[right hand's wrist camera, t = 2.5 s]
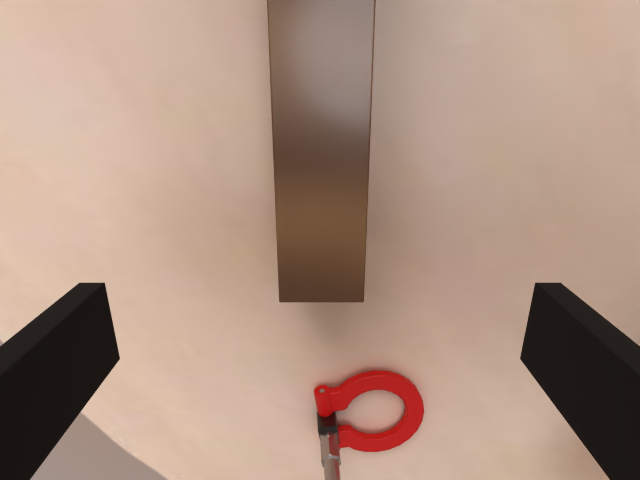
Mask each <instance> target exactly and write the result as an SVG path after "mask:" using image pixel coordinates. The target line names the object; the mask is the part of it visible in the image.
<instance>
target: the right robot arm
mask: <svg viewBox="0 0 640 480" xmlns="http://www.w3.org/2000/svg"><path fill="white" fill-rule="evenodd" d="M119 359H120V357H119V352H118V347H117V342H116V337H115V332H114V327H113V322H112V317H111V312H110V307H109V302H108V297H107V292H106V287H105V283H79V284H77V285H76V286H75V287H74V288H72V289H71V290H70V291H69V292H67V293H66V294H65V295H64V296H63V297H61V298H60V299H59V300H58V301H56V302H55V303H54V304H53V305H51V306H50V307H49V308H48V309H46V310H45V311H44V312H43V313H41V314H40V315H39V316H38V317H36V318H35V319H34V320H33V321H31V322H30V323H29V324H28V325H26V326H25V327H24V328H23V329H21V330H20V331H19V332H18V333H16V334H15V335H14V336H13V337H11V338H10V339H9V340H8V341H6V342H5V343H4V344H3V345H1V346H0V480H30V479H31V477H32V476H33V475H34V473H35V472H36V471H37V469H38V468H39V467H40V465H41V464H42V463H43V461H44V460H45V459H46V457H47V456H48V455H49V453H50V452H51V451H52V449H53V448H54V447H55V445H56V444H57V443H58V441H59V440H60V438H61V437H62V436H63V434H64V433H65V432H66V430H67V429H68V428H69V426H70V425H71V424H72V422H73V421H74V420H75V418H76V417H77V416H78V414H79V413H80V412H81V410H82V409H83V408H84V406H85V405H86V404H87V402H88V401H89V400H90V398H91V397H92V396H93V394H94V393H95V391H96V390H97V389H98V387H99V386H100V385H101V383H102V382H103V381H104V379H105V378H106V377H107V375H108V374H109V373H110V371H111V370H112V369H113V367H114V366H115V365H116V363H117V362H118V361H119ZM520 359H521V361H522V362H523V363H524V365H525V366H526V367H527V369H528V370H529V371H530V373H531V374H532V375H533V377H534V378H535V379H536V381H537V382H538V383H539V385H540V386H541V387H542V389H543V390H544V391H545V393H546V394H547V396H548V397H549V398H550V400H551V401H552V402H553V404H554V405H555V406H556V408H557V409H558V410H559V412H560V413H561V414H562V416H563V417H564V418H565V420H566V421H567V422H568V424H569V425H570V426H571V428H572V429H573V430H574V432H575V433H576V434H577V436H578V437H579V439H580V440H581V441H582V443H583V444H584V445H585V447H586V448H587V449H588V451H589V452H590V453H591V455H592V456H593V457H594V459H595V460H596V461H597V463H598V464H599V465H600V467H601V468H602V469H603V471H604V472H605V473H606V475H607V476H608V477H609V479H610V480H640V346H639V345H637V344H636V343H635V342H634V341H632V340H631V339H630V338H629V337H627V336H626V335H625V334H624V333H622V332H621V331H620V330H619V329H617V328H616V327H615V326H614V325H612V324H611V323H610V322H609V321H607V320H606V319H605V318H604V317H602V316H601V315H600V314H599V313H597V312H596V311H595V310H594V309H592V308H591V307H590V306H589V305H587V304H586V303H585V302H584V301H582V300H581V299H580V298H579V297H577V296H576V295H575V294H574V293H573V292H571V291H570V290H569V289H568V288H566V287H565V286H564V285H563V284H561V283H535V287H534V292H533V297H532V302H531V307H530V312H529V317H528V322H527V327H526V332H525V337H524V342H523V347H522V352H521V357H520Z"/></svg>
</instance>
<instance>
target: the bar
mask: <svg viewBox="0 0 640 480" xmlns="http://www.w3.org/2000/svg"><path fill="white" fill-rule="evenodd" d="M267 9H268V34H269V59H270V84H271V109H272V133H273V158H274V183H275V208H276V232H277V257H278V282H279V301H280V302H363V301H364V283H365V257H366V231H367V205H368V180H369V154H370V128H371V103H372V77H373V51H374V25H375V0H267Z"/></svg>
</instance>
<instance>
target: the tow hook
mask: <svg viewBox="0 0 640 480" xmlns="http://www.w3.org/2000/svg"><path fill="white" fill-rule="evenodd" d="M371 390H386V391H390V392H393V393H395V394H396V395H398V396H399V397H400V398H401V399H402V400H403V401H404V403H405V413H404V416H403V418H402V420H401V421H400V422H399V423H398V424H397V425H396V426H395V427H393V428H392V429H390V430H388V431H385V432H383V433H378V434H367V433H362V432H359V431H357V430H355V429H354V428H352V427H351V426H350V425H342V426H338V424H337V418H336V413H335V411H340V410H345V409H346V408H347V407H348V405H349V404H350V402H351V401H352V400H353V399H354V398H356V397H357V396H358V395H360V394H362V393H364V392H367V391H371ZM314 395H315V400H316V405H317V410H318V411H317V421H318V432H319V437H320V445H321V460H322V466H323V467H324V475H325V480H341V478H340V469H339V466H340V465H341V460H340V451H339V450H340V448H344V447H350V448H352V449H355V450H360V451H364V452H379V451H384V450H389V449H392V448H394V447H396V446H399V445H401V444H402V443H404V442H405V441H407V440H408V439H410V438H411V437H412V435H413V434H414V433H415V432H416V431H417V430H418V428H419V426H420V424H421V422H422V419H423V414H424V407H423V401H422V398H421V396H420V394H419V392H418V390H417V388H416V386H415V385H414V384H413V383H412V382H411V381H410V380H408V379H407V378H405V377H403V376H401V375H399V374H397V373H393V372H389V371H369V372H364V373H360V374H358V375H356V376H353V377H351V378H349V379H348V380H346V381H345V382H344V383H342V384H341V385H340V386H339V387H333V388H329V387H328V386H326V385H320V386H318V387H316V388H315V390H314Z"/></svg>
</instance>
